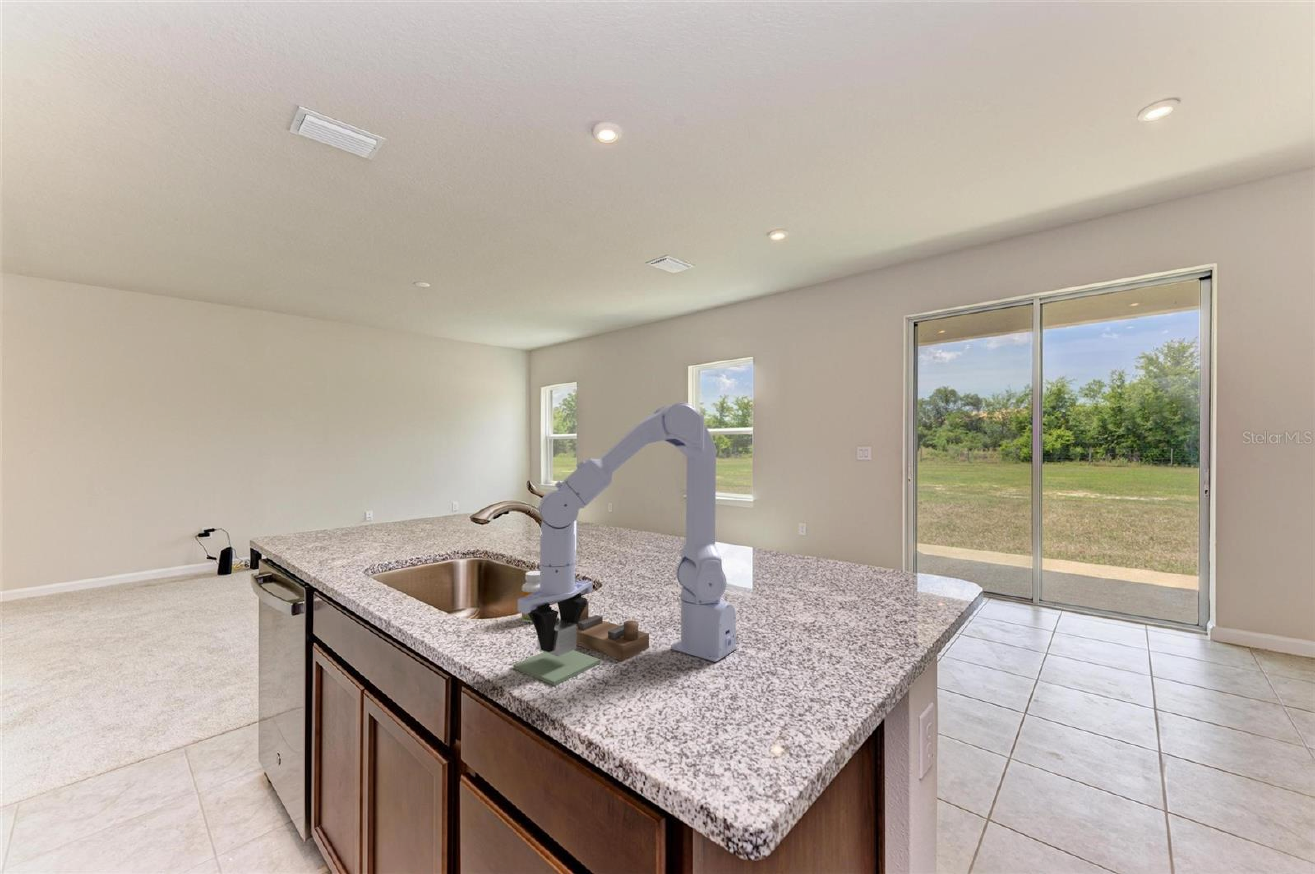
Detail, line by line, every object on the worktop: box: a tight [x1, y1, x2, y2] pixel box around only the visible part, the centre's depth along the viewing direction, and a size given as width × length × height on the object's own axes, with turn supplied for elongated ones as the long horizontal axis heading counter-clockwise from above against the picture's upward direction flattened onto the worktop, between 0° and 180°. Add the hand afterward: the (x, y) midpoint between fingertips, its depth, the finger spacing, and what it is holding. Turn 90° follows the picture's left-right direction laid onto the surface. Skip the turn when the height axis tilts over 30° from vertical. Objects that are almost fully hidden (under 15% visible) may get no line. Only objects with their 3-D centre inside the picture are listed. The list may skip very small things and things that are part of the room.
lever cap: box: [537, 616, 578, 657], centre depth 83 cm, size 5×4×5 cm
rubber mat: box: [512, 650, 601, 687], centre depth 83 cm, size 10×10×1 cm
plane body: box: [577, 600, 650, 662], centre depth 92 cm, size 15×7×6 cm, turn 53°
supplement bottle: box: [521, 570, 540, 624], centre depth 105 cm, size 5×5×10 cm
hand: (557, 645), depth 83 cm, fingers closed on lever cap, 4 cm apart
